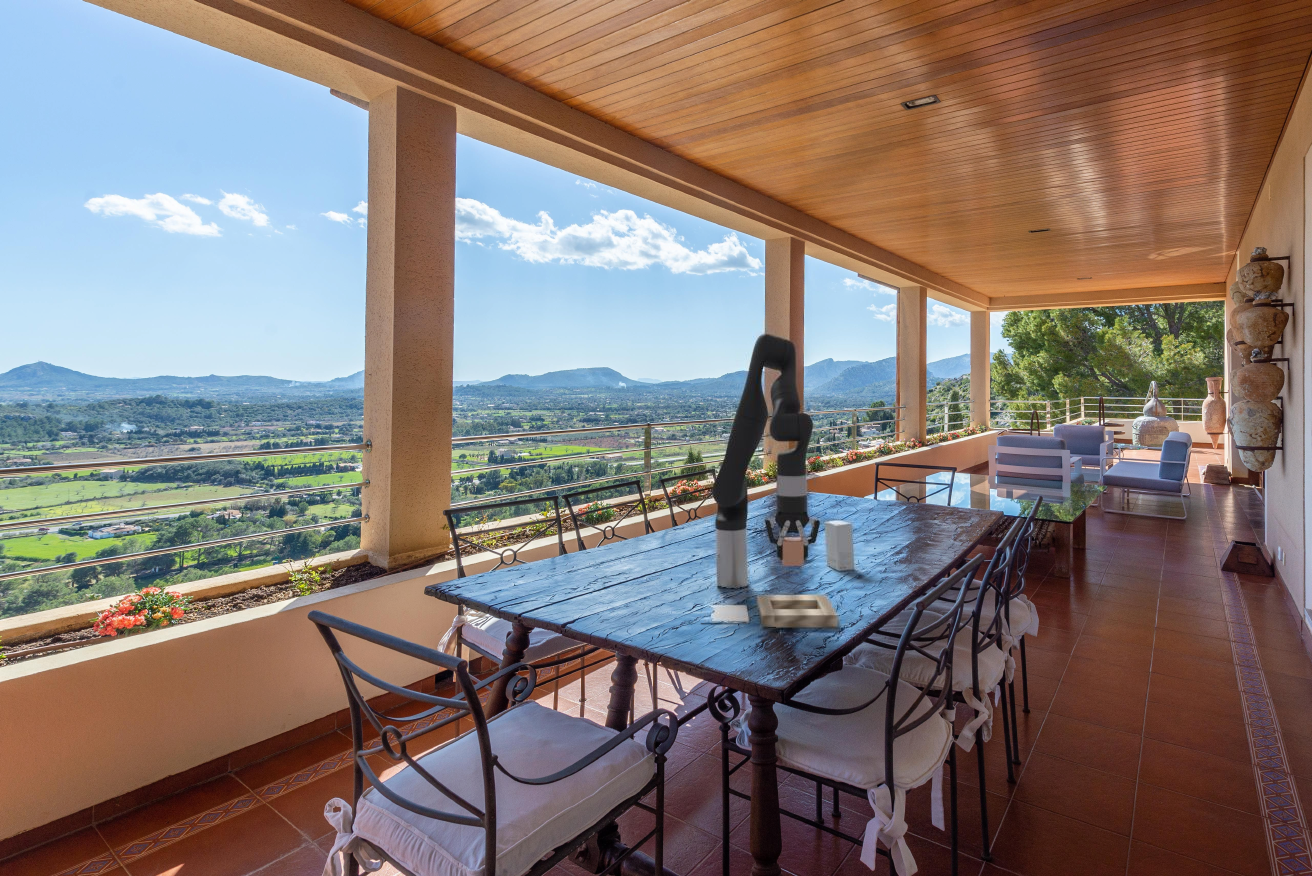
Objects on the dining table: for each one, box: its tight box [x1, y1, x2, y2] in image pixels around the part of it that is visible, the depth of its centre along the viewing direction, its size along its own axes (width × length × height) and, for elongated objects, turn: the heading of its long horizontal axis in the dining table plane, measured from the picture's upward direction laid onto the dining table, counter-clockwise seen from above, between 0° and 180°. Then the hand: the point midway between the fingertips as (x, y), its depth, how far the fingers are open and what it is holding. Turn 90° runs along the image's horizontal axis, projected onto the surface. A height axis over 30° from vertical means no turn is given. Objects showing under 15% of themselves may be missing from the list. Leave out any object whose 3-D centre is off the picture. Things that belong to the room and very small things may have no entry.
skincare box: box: [824, 519, 855, 572], centre depth 207 cm, size 8×6×15 cm
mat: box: [709, 604, 750, 624], centre depth 166 cm, size 12×12×1 cm
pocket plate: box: [756, 594, 839, 628], centre depth 163 cm, size 18×16×3 cm
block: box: [780, 536, 805, 567], centre depth 162 cm, size 5×5×6 cm
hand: (792, 559), depth 162 cm, fingers closed on block, 5 cm apart
